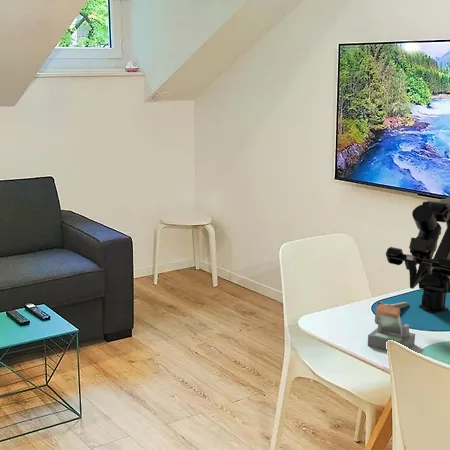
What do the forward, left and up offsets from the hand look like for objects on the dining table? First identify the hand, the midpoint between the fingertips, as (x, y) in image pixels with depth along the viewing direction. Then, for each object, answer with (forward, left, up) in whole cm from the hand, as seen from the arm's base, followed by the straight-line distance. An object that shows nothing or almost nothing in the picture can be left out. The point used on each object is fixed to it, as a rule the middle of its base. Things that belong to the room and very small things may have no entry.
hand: (411, 287), depth 200 cm
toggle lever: (+10, +6, -9) cm, 15 cm away
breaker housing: (+10, +6, -13) cm, 17 cm away
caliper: (-4, -13, -13) cm, 19 cm away
